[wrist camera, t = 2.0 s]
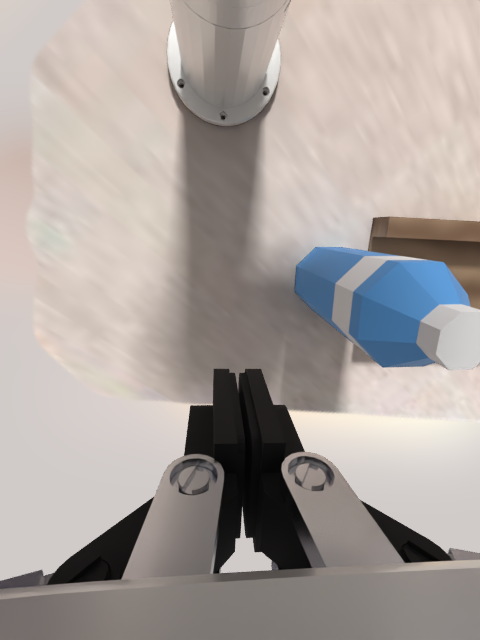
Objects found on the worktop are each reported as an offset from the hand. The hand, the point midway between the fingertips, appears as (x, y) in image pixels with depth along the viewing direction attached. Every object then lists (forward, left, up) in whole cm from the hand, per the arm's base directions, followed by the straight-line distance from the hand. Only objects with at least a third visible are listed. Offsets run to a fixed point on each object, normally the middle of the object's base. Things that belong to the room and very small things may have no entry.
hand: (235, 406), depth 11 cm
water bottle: (0, +15, -32) cm, 36 cm away
